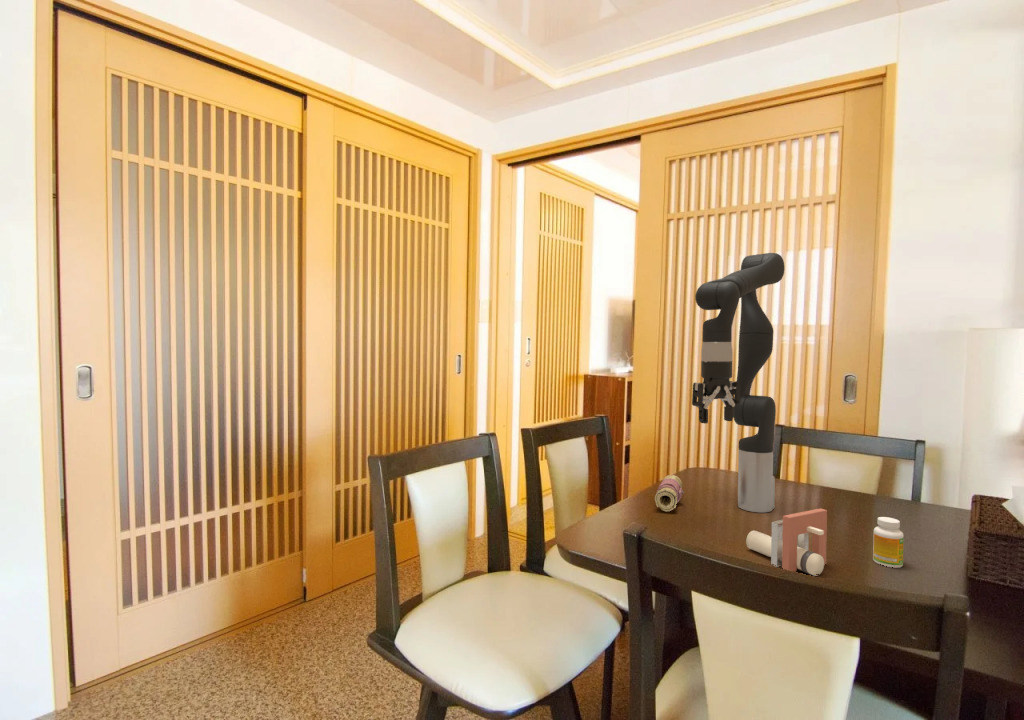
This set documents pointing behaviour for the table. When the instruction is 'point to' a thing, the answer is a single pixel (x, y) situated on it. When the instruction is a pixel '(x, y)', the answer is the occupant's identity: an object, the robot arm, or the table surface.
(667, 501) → the scroll
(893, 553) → the supplement bottle
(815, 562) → the white long cylinder
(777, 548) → the grey u-shaped panel
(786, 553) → the wall
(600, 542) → the table surface
